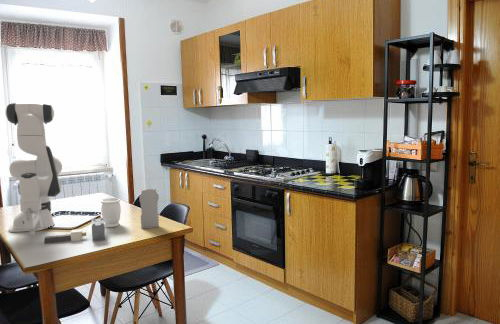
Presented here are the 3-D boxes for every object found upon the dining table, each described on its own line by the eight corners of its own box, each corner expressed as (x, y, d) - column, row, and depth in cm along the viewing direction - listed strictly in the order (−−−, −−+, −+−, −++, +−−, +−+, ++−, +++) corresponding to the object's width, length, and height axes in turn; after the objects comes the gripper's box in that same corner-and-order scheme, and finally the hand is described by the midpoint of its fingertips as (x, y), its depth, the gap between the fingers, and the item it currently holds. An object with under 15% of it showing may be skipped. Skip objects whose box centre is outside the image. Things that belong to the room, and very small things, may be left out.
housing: (92, 241, 195) (91, 224, 194) (92, 234, 207) (91, 218, 206) (105, 239, 197) (104, 223, 196) (104, 232, 209) (104, 217, 208)
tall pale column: (141, 229, 215) (139, 190, 213) (139, 227, 219) (138, 189, 216) (160, 227, 220) (159, 188, 217) (158, 225, 223) (157, 187, 221)
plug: (44, 244, 191) (43, 235, 191) (45, 241, 195) (44, 232, 195) (86, 239, 198) (85, 231, 198) (86, 237, 202) (86, 228, 202)
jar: (101, 224, 226) (100, 198, 224) (120, 222, 230) (119, 197, 228) (102, 228, 216) (101, 202, 215) (122, 226, 220) (121, 200, 219)
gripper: (35, 210, 180) (37, 239, 182) (41, 202, 199) (42, 228, 201) (19, 211, 178) (21, 241, 179) (27, 203, 197) (28, 230, 198)
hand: (32, 234), depth 190 cm, fingers closed
